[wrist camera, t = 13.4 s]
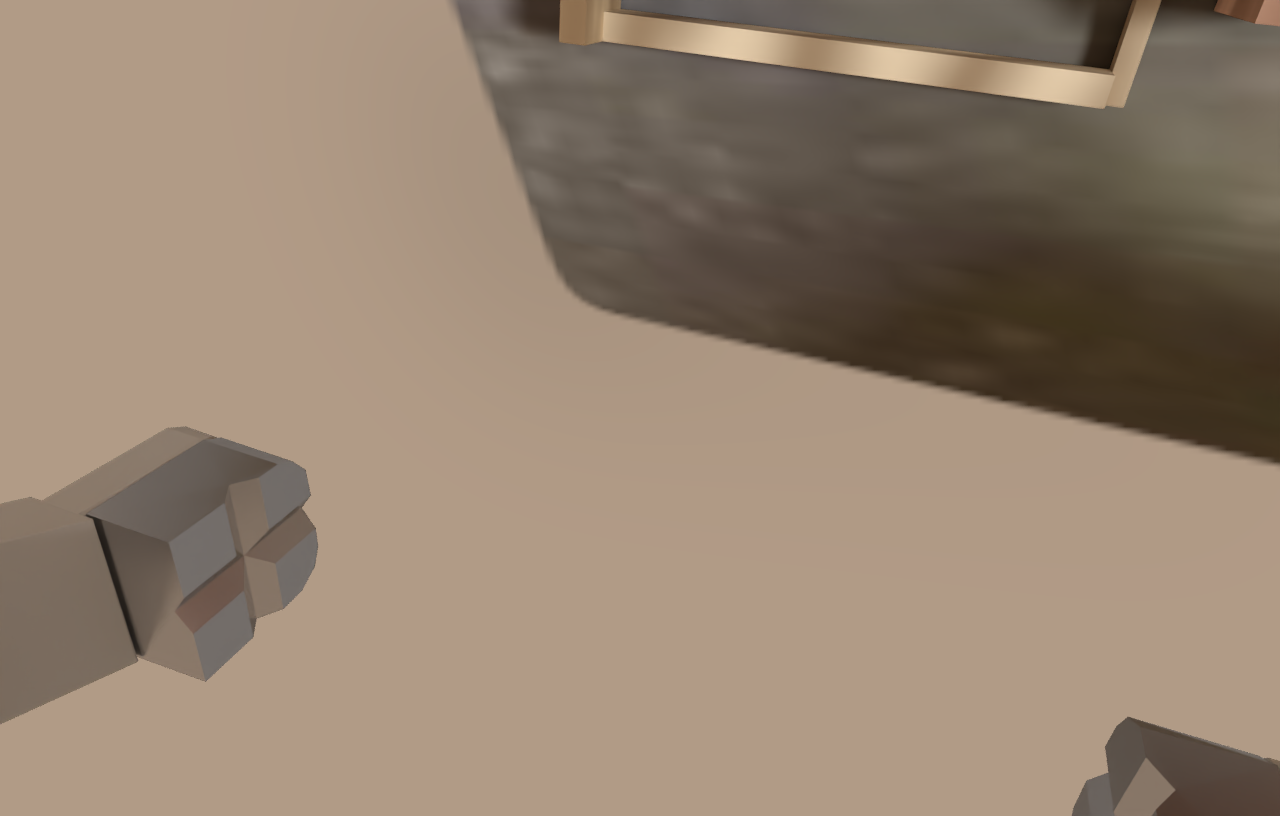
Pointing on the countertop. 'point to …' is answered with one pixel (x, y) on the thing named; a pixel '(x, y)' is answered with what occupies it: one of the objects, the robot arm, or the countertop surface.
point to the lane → (889, 51)
